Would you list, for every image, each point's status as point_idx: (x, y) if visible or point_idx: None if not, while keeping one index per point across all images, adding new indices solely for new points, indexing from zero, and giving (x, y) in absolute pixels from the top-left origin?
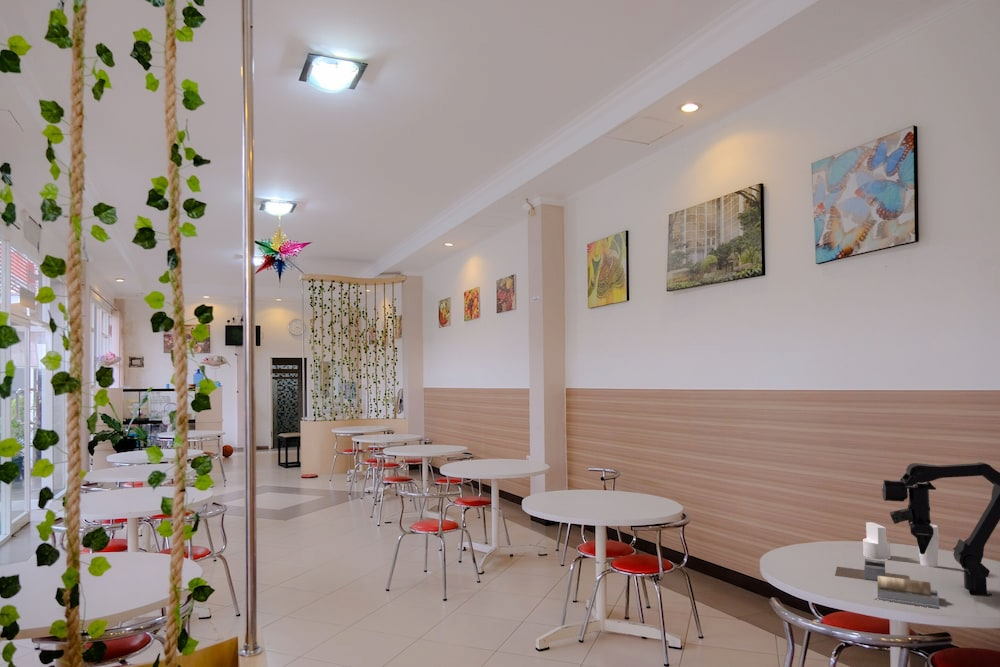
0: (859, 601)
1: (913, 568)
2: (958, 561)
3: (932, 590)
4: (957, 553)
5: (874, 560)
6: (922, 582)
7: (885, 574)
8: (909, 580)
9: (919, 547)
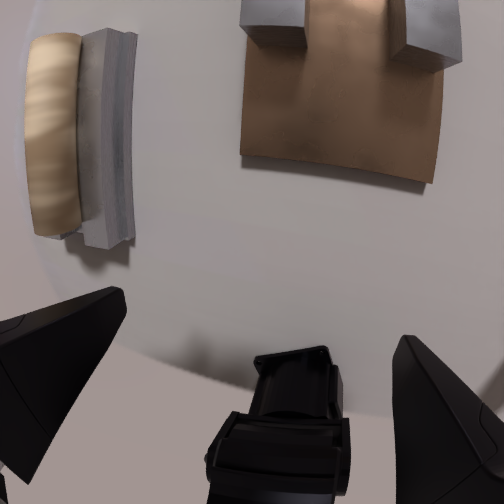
0: (41, 24)
1: None
2: (257, 435)
3: (103, 233)
4: (273, 470)
5: (451, 7)
6: (31, 207)
7: (409, 66)
8: (27, 160)
9: (60, 307)
